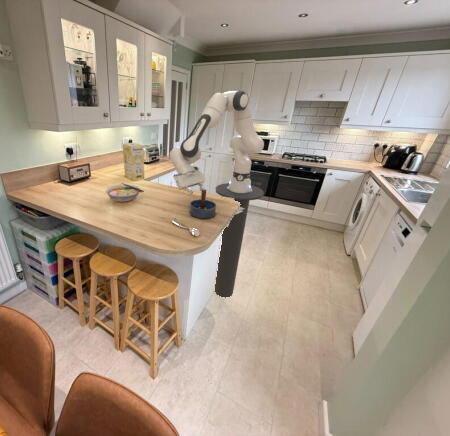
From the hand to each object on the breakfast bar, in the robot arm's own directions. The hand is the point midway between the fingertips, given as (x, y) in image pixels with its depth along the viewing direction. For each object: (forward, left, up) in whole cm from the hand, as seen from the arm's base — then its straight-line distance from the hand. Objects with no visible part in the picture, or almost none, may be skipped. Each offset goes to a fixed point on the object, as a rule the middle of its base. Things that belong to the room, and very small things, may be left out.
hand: (196, 192), depth 136 cm
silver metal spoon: (+24, +1, -12) cm, 27 cm away
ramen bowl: (+3, -49, -12) cm, 51 cm away
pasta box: (-47, -71, -12) cm, 85 cm away
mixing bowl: (+2, +5, -12) cm, 13 cm away
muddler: (+2, +5, -11) cm, 12 cm away
